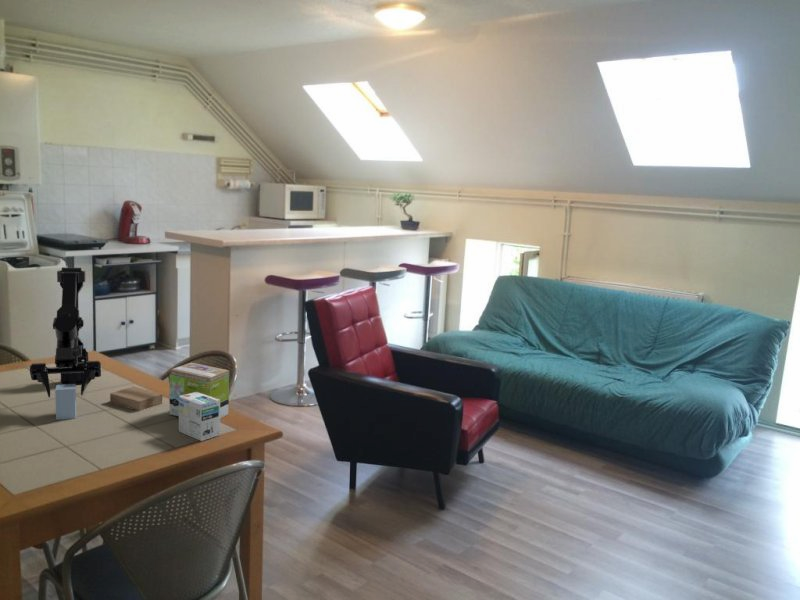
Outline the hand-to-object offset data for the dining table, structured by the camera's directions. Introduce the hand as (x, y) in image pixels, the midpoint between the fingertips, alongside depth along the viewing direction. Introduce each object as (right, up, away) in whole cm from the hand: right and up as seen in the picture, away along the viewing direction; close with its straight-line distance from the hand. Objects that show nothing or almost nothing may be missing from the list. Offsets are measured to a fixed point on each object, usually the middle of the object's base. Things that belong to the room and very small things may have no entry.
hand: (65, 395), depth 192 cm
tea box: (+36, -8, +10) cm, 38 cm away
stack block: (+14, -5, +17) cm, 23 cm away
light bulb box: (+40, -10, -5) cm, 42 cm away
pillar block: (-1, -6, +2) cm, 7 cm away
